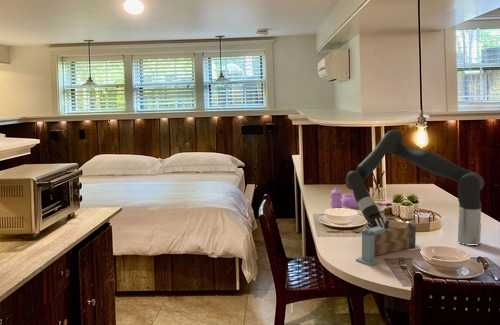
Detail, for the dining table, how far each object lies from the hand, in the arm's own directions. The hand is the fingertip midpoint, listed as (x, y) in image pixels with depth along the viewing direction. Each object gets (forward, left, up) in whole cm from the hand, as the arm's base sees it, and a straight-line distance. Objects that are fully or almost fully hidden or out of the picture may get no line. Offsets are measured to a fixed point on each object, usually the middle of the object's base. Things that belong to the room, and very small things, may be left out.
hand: (386, 240), depth 201 cm
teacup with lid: (+16, -38, -5) cm, 41 cm away
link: (-2, +1, -4) cm, 5 cm away
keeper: (+1, +16, -5) cm, 16 cm away
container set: (+48, -74, -5) cm, 88 cm away
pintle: (-8, -10, -5) cm, 13 cm away
